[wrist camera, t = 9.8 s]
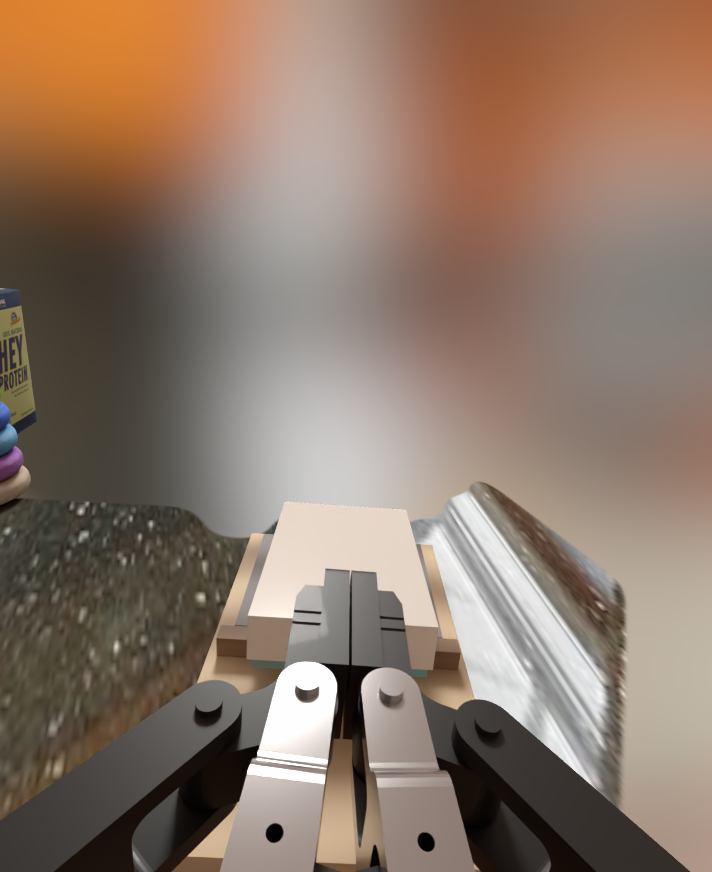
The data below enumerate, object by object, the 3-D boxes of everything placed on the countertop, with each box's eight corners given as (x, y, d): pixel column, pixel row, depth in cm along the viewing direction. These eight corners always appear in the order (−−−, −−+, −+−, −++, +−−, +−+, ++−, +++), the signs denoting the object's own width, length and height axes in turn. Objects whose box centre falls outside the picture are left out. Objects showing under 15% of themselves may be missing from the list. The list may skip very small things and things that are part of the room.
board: (517, 889, 18) (528, 849, 18) (136, 871, 18) (131, 831, 17) (430, 556, 39) (434, 531, 38) (252, 544, 39) (252, 519, 38)
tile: (438, 627, 24) (406, 509, 37) (247, 615, 23) (285, 501, 37) (431, 680, 24) (402, 546, 38) (246, 669, 24) (283, 538, 38)
